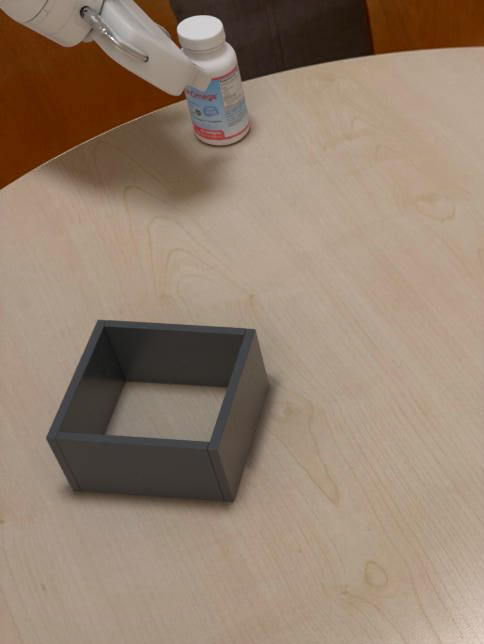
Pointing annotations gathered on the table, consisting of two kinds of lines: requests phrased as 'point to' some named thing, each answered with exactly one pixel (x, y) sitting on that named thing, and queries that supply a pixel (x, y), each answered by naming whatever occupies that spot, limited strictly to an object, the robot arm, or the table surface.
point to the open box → (169, 368)
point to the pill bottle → (214, 82)
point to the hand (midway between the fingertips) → (185, 61)
